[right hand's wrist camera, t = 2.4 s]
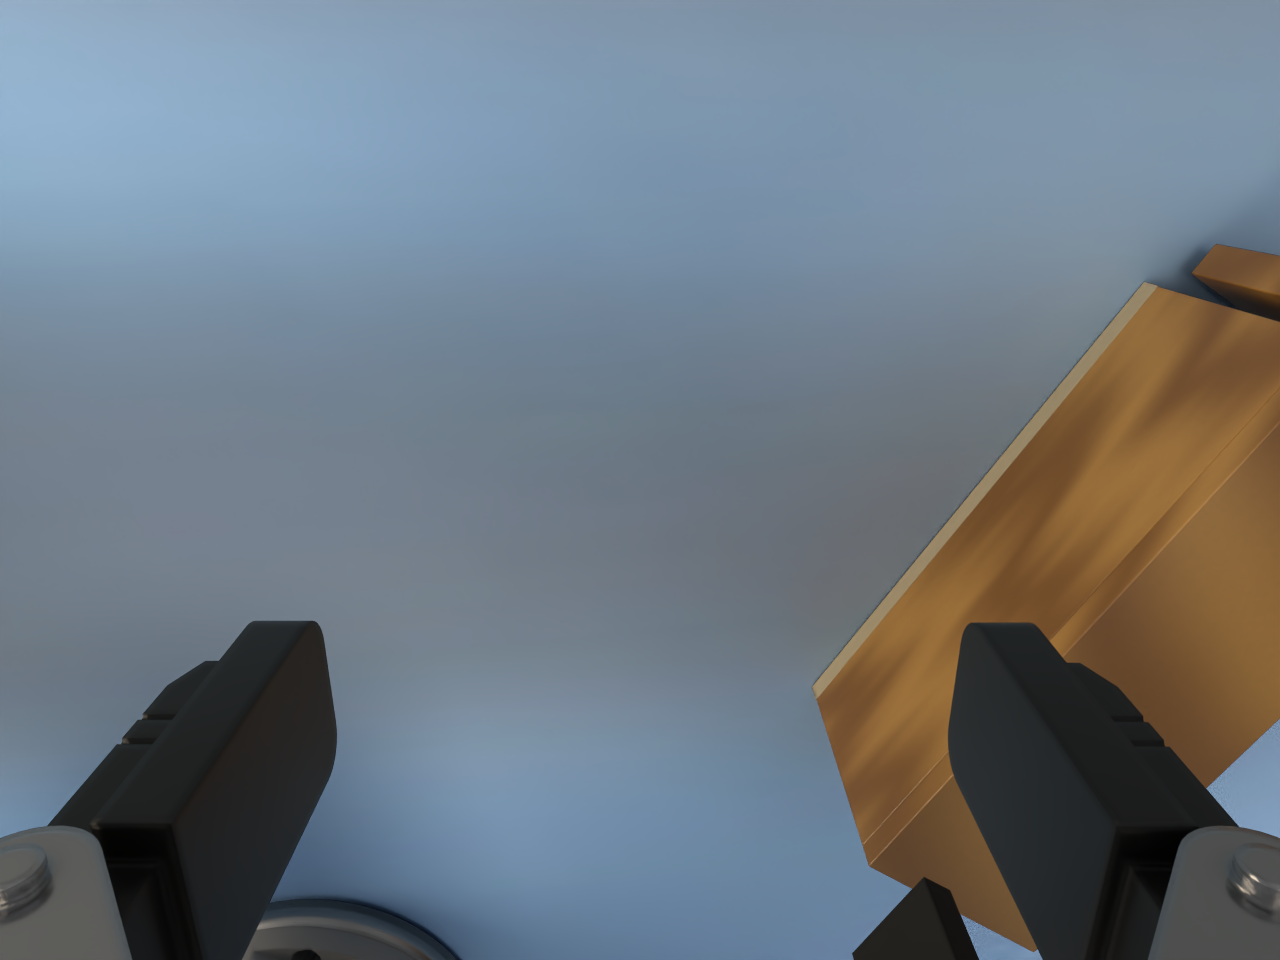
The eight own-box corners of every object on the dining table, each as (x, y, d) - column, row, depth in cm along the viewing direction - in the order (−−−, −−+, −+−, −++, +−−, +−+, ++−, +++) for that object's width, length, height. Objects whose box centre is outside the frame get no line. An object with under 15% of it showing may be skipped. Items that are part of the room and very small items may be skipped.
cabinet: (1144, 281, 32) (1352, 341, 23) (1282, 382, 33) (1533, 478, 24) (811, 687, 38) (868, 866, 29) (940, 759, 39) (1034, 953, 30)
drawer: (1338, 95, 29) (1585, 80, 21) (1457, 194, 30) (1733, 214, 22) (877, 648, 36) (939, 783, 29) (986, 711, 37) (1074, 858, 30)
